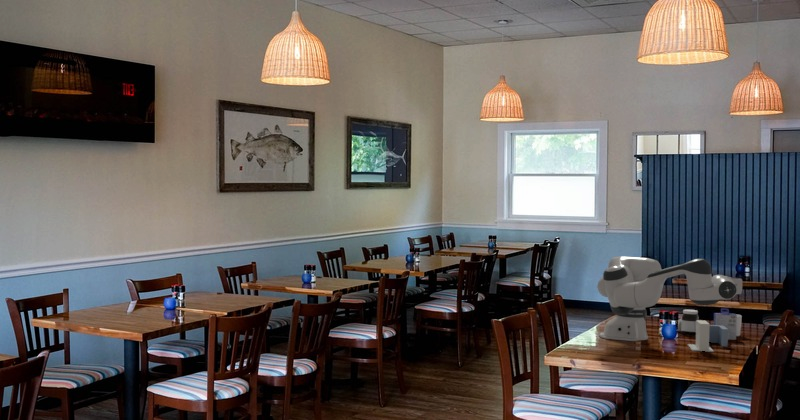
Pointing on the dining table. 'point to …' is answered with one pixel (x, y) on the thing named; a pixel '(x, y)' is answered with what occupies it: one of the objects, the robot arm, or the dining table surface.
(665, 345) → the dining table surface
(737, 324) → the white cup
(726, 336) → the slotted box
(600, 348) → the dining table surface
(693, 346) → the mat
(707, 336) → the white rectangular block
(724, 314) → the ink cartridge box
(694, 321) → the spread jar
